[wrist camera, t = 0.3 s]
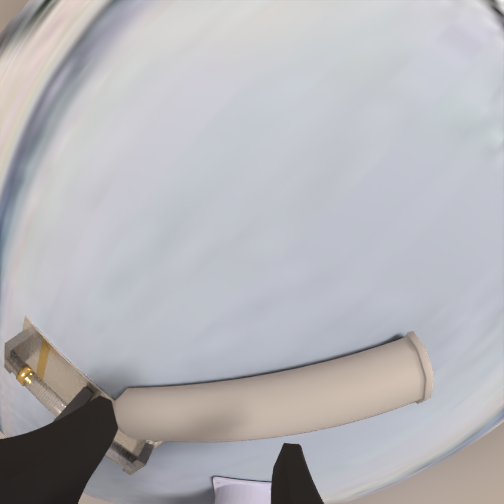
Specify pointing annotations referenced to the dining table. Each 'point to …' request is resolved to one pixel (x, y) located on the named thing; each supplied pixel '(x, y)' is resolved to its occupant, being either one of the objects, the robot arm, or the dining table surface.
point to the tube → (281, 398)
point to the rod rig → (65, 388)
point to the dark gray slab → (76, 402)
